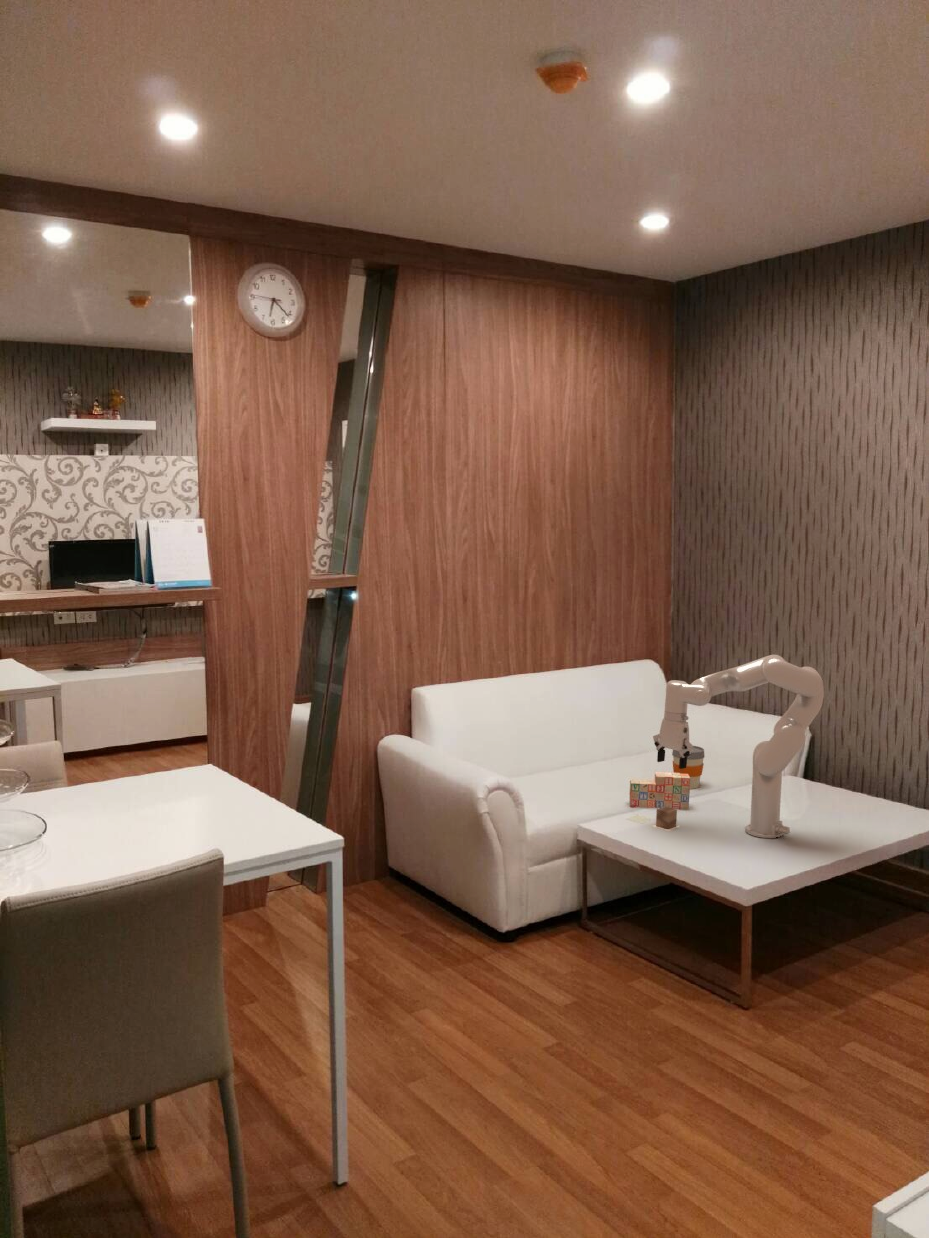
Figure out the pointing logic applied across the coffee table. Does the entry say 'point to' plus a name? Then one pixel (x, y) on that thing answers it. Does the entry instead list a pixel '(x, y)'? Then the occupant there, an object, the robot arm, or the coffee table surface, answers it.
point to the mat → (644, 819)
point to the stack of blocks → (661, 791)
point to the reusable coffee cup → (690, 765)
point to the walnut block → (666, 817)
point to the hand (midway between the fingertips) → (671, 764)
